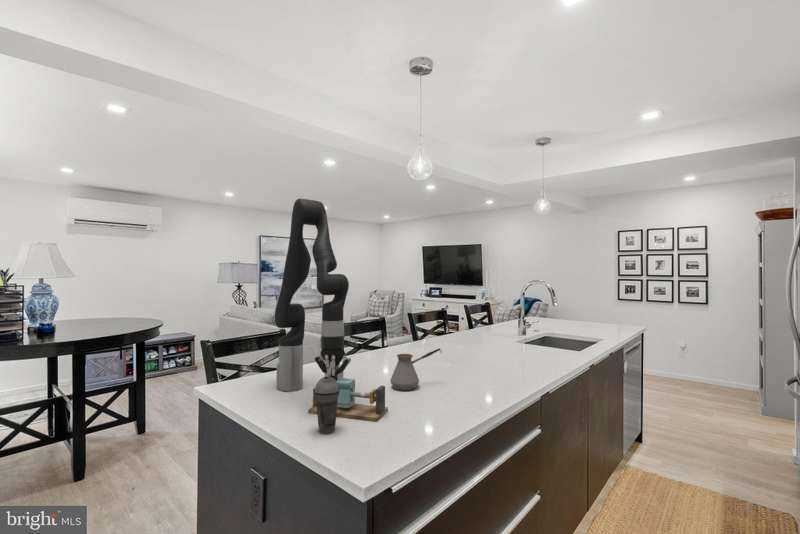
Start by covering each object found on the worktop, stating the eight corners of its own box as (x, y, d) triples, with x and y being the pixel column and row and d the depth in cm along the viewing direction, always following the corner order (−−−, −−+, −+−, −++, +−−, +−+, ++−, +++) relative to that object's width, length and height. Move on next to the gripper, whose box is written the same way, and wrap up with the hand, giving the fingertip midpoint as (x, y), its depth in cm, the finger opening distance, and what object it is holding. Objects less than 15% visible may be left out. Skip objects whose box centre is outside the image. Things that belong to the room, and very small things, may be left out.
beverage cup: (315, 426, 116) (316, 359, 117) (340, 425, 117) (340, 358, 117) (312, 436, 109) (312, 365, 109) (338, 435, 110) (338, 364, 110)
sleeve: (334, 406, 127) (334, 381, 127) (341, 401, 132) (341, 377, 132) (348, 407, 125) (348, 383, 125) (354, 402, 130) (354, 379, 130)
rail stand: (308, 413, 127) (308, 385, 127) (323, 403, 136) (323, 377, 137) (377, 421, 120) (377, 392, 120) (387, 410, 129) (387, 383, 129)
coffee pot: (393, 393, 148) (394, 353, 148) (387, 384, 159) (387, 347, 159) (446, 389, 153) (446, 350, 153) (437, 381, 164) (437, 345, 165)
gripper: (309, 334, 128) (309, 387, 128) (345, 336, 124) (345, 391, 124) (320, 331, 136) (320, 381, 135) (355, 333, 131) (355, 384, 131)
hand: (332, 385), depth 130 cm, fingers closed
